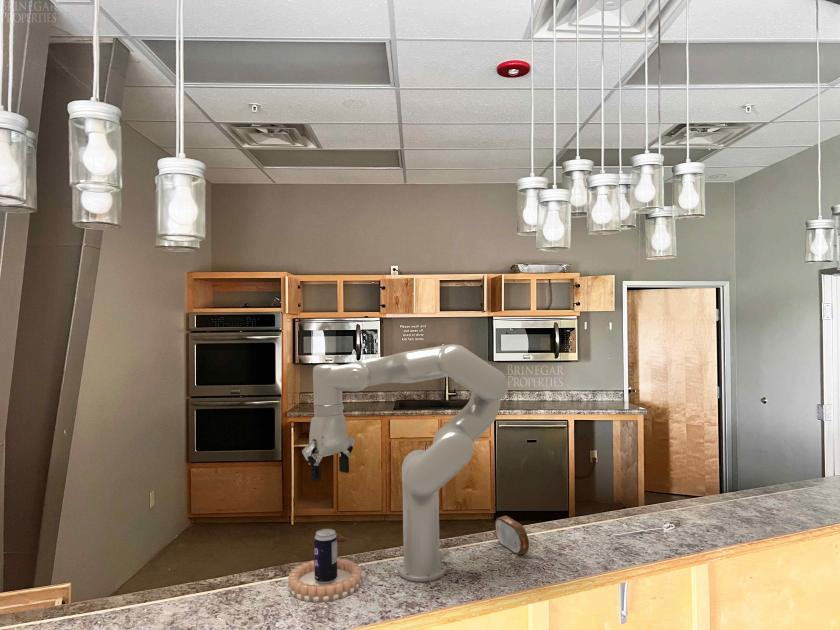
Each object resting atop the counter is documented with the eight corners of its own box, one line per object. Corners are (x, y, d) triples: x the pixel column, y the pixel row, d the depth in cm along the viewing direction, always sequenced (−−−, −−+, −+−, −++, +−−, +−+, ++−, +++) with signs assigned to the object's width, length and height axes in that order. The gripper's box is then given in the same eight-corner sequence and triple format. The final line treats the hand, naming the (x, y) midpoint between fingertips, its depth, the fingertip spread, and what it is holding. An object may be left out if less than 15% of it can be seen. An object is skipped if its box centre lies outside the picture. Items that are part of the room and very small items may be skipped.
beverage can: (327, 573, 140) (326, 526, 141) (342, 579, 137) (341, 531, 137) (309, 581, 136) (309, 532, 137) (324, 587, 132) (324, 537, 133)
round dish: (330, 563, 149) (330, 552, 149) (376, 582, 137) (376, 570, 137) (273, 586, 136) (273, 574, 136) (318, 609, 124) (318, 596, 124)
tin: (530, 558, 151) (529, 527, 151) (520, 559, 149) (519, 529, 150) (502, 539, 165) (502, 511, 165) (493, 541, 163) (493, 513, 164)
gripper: (342, 406, 152) (345, 467, 151) (293, 414, 139) (295, 482, 138) (361, 407, 147) (364, 470, 146) (312, 416, 134) (314, 486, 133)
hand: (330, 476), depth 142 cm, fingers open, 9 cm apart
